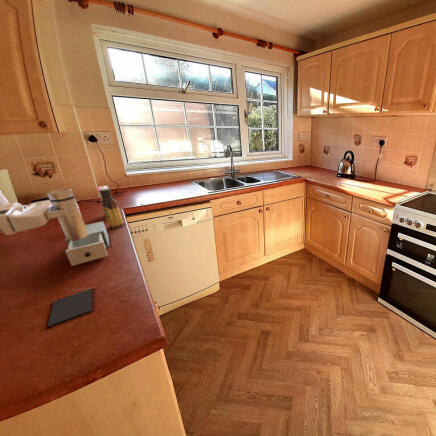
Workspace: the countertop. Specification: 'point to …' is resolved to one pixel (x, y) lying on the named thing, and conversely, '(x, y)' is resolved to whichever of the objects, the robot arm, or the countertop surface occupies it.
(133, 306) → the countertop surface
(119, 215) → the sauce bottle
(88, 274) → the countertop surface
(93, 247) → the drawer
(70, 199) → the metal canister
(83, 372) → the countertop surface
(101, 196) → the candy bar box
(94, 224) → the cabinet
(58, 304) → the mat
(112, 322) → the countertop surface
